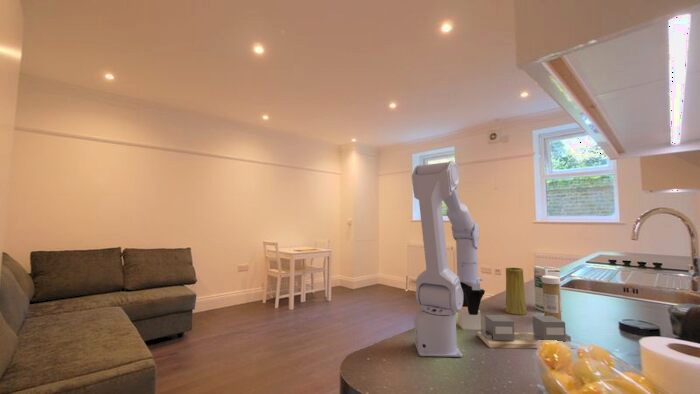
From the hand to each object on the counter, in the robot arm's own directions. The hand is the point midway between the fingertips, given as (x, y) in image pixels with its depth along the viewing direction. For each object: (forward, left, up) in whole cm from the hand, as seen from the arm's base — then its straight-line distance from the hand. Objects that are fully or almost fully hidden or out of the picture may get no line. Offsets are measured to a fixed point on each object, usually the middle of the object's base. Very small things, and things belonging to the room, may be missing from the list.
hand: (468, 310), depth 89 cm
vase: (+20, +15, -5) cm, 25 cm away
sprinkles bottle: (+26, +5, -5) cm, 27 cm away
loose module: (0, 0, -5) cm, 5 cm away
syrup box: (+32, +18, -5) cm, 37 cm away
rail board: (+10, -11, -5) cm, 16 cm away
